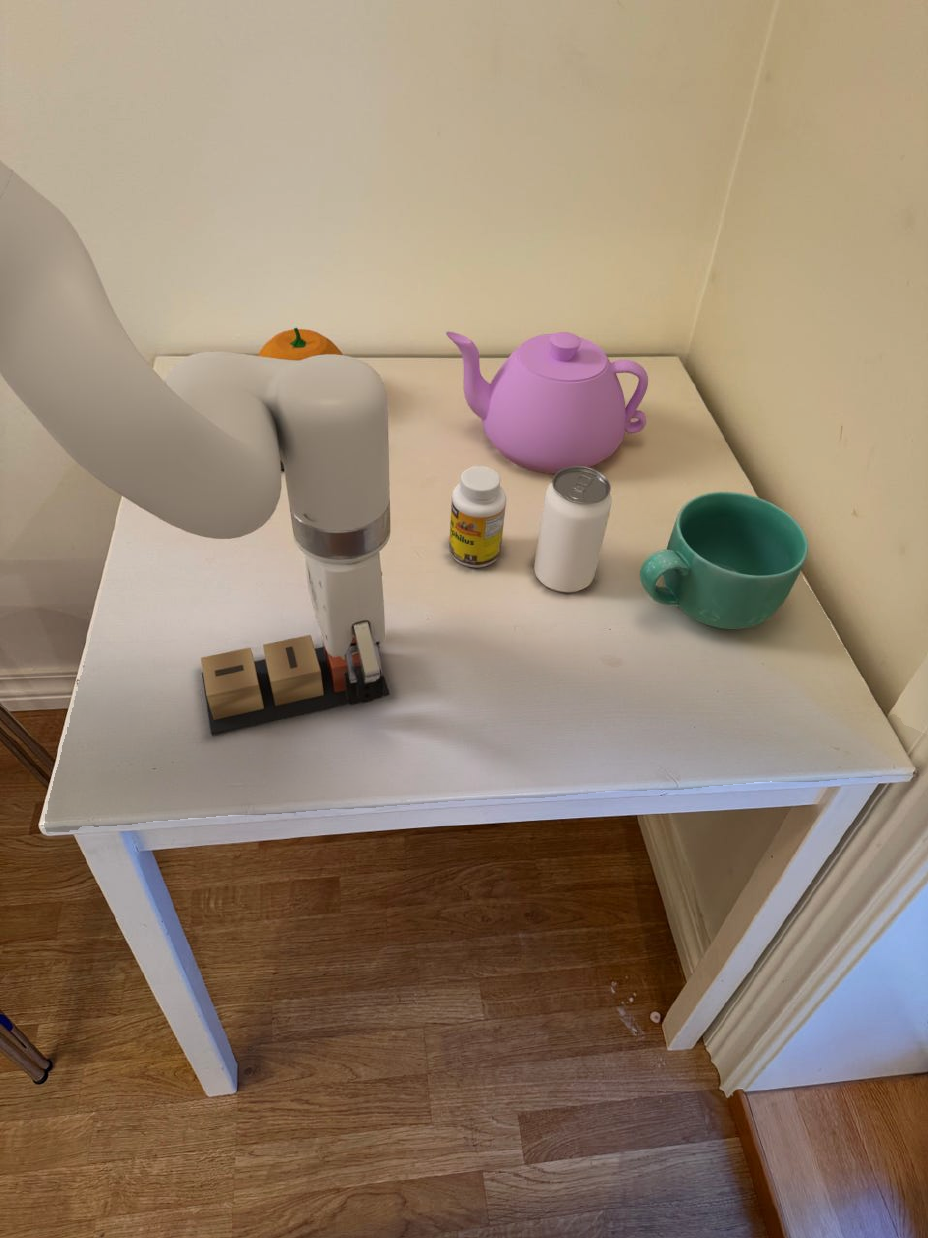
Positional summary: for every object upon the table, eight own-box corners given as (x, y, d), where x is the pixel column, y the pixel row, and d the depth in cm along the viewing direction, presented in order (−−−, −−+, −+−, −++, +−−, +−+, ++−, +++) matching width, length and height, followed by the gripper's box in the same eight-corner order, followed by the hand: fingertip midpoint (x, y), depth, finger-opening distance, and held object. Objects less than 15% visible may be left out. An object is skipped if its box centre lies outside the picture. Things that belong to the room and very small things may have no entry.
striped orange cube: (334, 692, 75) (332, 667, 73) (324, 657, 78) (321, 631, 75) (381, 682, 77) (380, 657, 74) (370, 647, 79) (368, 621, 77)
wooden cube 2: (275, 706, 74) (270, 681, 71) (267, 669, 77) (262, 643, 74) (324, 695, 75) (320, 670, 72) (314, 659, 78) (310, 633, 75)
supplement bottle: (438, 547, 90) (441, 472, 82) (479, 528, 92) (485, 453, 84) (469, 577, 87) (475, 502, 79) (510, 557, 89) (520, 482, 82)
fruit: (238, 405, 105) (225, 333, 98) (299, 366, 112) (292, 295, 105) (309, 439, 101) (302, 366, 94) (368, 396, 108) (365, 325, 101)
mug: (739, 549, 92) (767, 482, 85) (799, 632, 84) (835, 566, 77) (602, 574, 88) (618, 505, 81) (651, 663, 80) (675, 596, 73)
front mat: (211, 736, 72) (211, 733, 72) (202, 675, 77) (201, 672, 76) (389, 694, 76) (389, 692, 76) (370, 639, 80) (370, 636, 80)
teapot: (632, 403, 110) (655, 305, 100) (648, 487, 98) (676, 387, 88) (445, 392, 110) (448, 293, 100) (439, 476, 98) (442, 373, 88)
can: (524, 583, 87) (538, 493, 78) (544, 545, 91) (560, 456, 82) (583, 602, 85) (604, 514, 76) (601, 563, 89) (623, 474, 80)
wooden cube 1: (213, 720, 73) (206, 695, 70) (207, 682, 76) (200, 656, 73) (264, 709, 74) (258, 684, 71) (256, 671, 77) (250, 646, 74)
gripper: (272, 457, 68) (294, 600, 81) (315, 606, 57) (332, 744, 70) (362, 443, 70) (369, 585, 82) (420, 585, 59) (418, 723, 72)
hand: (352, 658), depth 76 cm, fingers open, 9 cm apart
